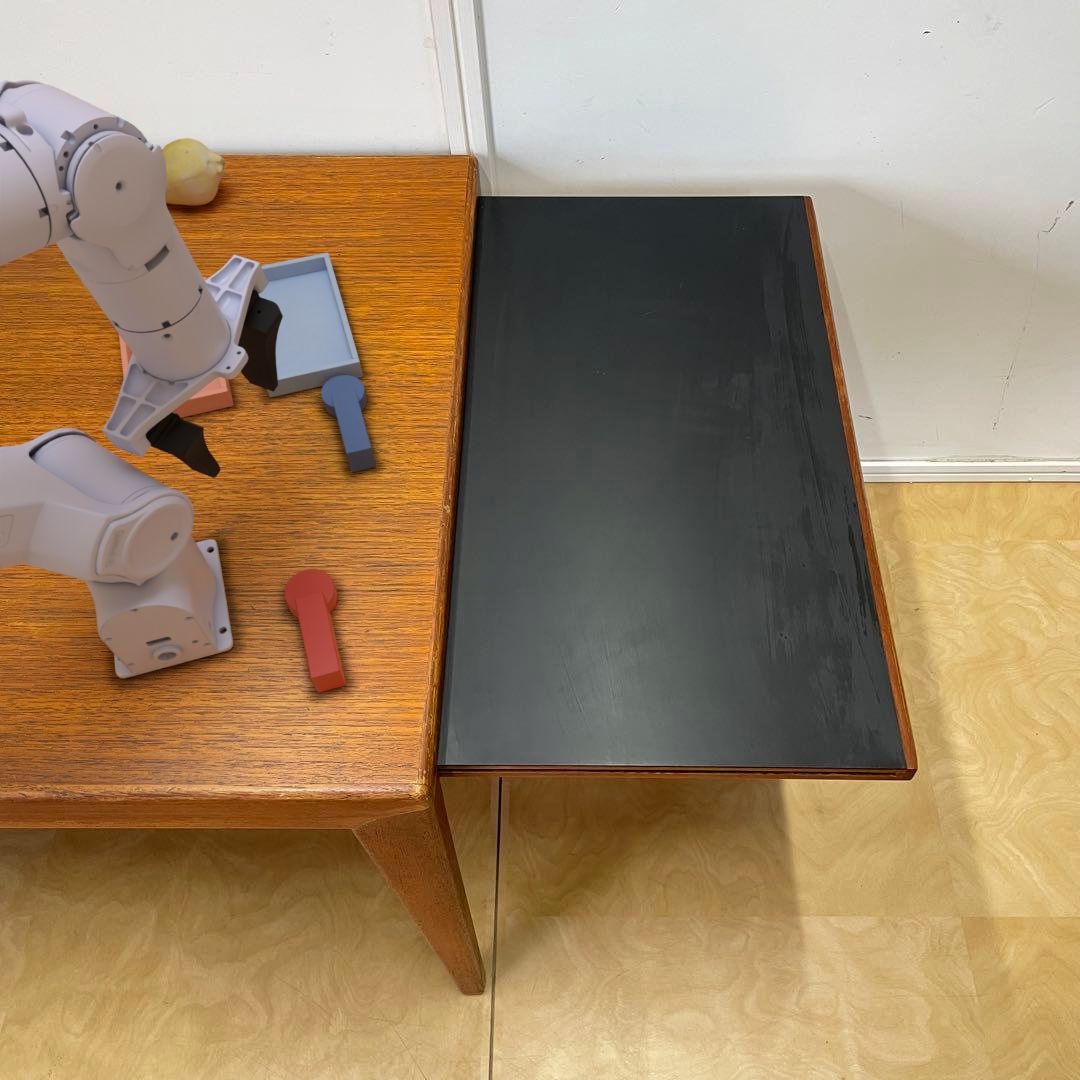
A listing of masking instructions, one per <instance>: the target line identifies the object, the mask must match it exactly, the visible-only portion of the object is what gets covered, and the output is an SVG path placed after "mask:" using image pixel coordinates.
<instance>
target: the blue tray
mask: <svg viewBox="0 0 1080 1080" xmlns="http://www.w3.org/2000/svg"><path fill="white" fill-rule="evenodd" d="M261 267H262V269H263V272H264V274H265V276H266V278H267V280H268V285H267V286H266V288H265V289H264V290H263V292H261V293H259V296H260V297H261V298H264V299H267V300H270V301H273V302H275V303H276V304H277V305H278V307H279V309H280V311H281V313H282V315H283V318H282V321H281V323H280V326H279V330H278V335H277V341H276V367H277V377H278V386H277V388H276V389H275V391H274V392H273V391H270V390H267V389H266V392H267V394H268V397H269V398H275V397H279V396H284V395H288V394H293V393H299V392H302V391H306V390H310V389H315V388H320V387H323V385H324V384H325V383H326V382H327V381H328V380H330V379H331V378H333V377H336V376H340V375H350V376H354V377H356V378H358V379H359V378H360V379H361V378H363V377H364V375H363V370H362V365H361V362H360V361H361V360H360V357H359V354H358V351H357V346H356V343H355V340H354V337H353V333H352V329H351V326H350V323H349V319H348V316H347V313H346V312H347V311H346V308H345V304H344V302H343V299H342V295H341V292H340V288H339V285H338V281H337V278H336V274H335V270H334V268H333V264H332V260H331V257H330V253H329V252H323V253H318V254H314V255H308V256H304V257H299V258H293V259H288V260H284V261H278V262H273V263H269V264H268V263H267V264H264V265H261Z"/></svg>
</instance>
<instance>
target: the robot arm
mask: <svg viewBox="0 0 1080 1080" xmlns="http://www.w3.org/2000/svg"><path fill="white" fill-rule="evenodd" d="M162 150H163V148H162V147H161V146H160V144H156V145H154V144H153V143H152V142H149V141H148V139H147V138H146V136H145V134H143V132H142V131H141V130H140V129H139V128H137V126H136V125H134V124H133V123H131V122H129V121H127V120H126V119H123V118H121V117H120V116H117V115H115V114H113V113H111V112H109V111H107V110H104V109H103V108H100V107H98V106H96V105H94V104H92V103H90V102H87V101H86V100H84V99H82V98H79V97H77V96H75V95H73V94H71V93H69V92H67V91H65V90H63V89H60V88H58V87H56V86H54V85H51V84H46V83H44V82H40V81H36V80H32V79H31V80H29V79H28V80H27V79H25V80H17V81H12V80H2V81H0V267H1V266H3V265H6V264H8V263H11V262H14V261H15V260H18V259H20V258H23V257H25V256H27V255H30V254H32V253H35V252H38V251H39V250H42V249H44V248H47V247H49V246H51V245H54V244H56V246H57V247H58V248H59V250H60V251H61V253H62V255H63V256H64V258H65V260H66V262H67V263H68V264H69V266H70V267H71V269H72V270H73V271H74V273H75V274H76V275H77V277H78V278H79V280H80V281H81V282H82V284H83V286H84V287H85V288H86V290H87V291H88V292H89V294H90V295H91V296H92V298H93V300H94V301H95V303H96V304H97V305H98V306H99V308H100V309H101V311H102V312H103V314H104V315H105V317H106V318H107V319H108V321H109V322H110V324H111V326H113V328H114V329H115V331H116V332H117V333H118V336H119V335H120V336H121V338H122V339H123V340H124V342H125V343H126V345H127V346H128V347H129V349H130V350H131V352H132V355H131V359H130V362H129V365H128V368H127V371H126V374H125V377H124V378H123V380H122V383H121V386H120V389H119V393H118V396H117V398H116V402H115V404H114V407H113V410H112V412H111V414H110V416H109V417H108V419H107V421H106V422H105V424H104V425H103V427H102V428H101V432H102V433H103V434H104V435H105V437H106V438H107V439H108V441H110V442H111V444H112V445H113V446H114V447H115V448H116V449H119V450H121V451H124V452H126V453H128V454H131V455H134V456H136V457H139V458H143V457H144V456H145V455H146V454H147V453H148V451H149V450H150V448H154V449H157V450H159V451H161V452H164V453H167V454H169V455H172V456H173V457H175V458H176V459H178V460H180V461H181V462H182V463H183V464H185V465H186V466H187V467H188V468H190V469H191V470H193V471H195V472H197V473H200V474H202V475H204V476H207V477H210V478H213V479H215V478H217V476H218V475H219V473H220V472H221V467H220V464H219V462H218V460H217V459H216V458H215V456H214V455H213V453H211V451H210V449H209V447H208V446H207V445H208V444H207V442H206V439H205V433H204V432H205V427H204V426H201V425H199V424H196V423H194V422H191V421H188V420H186V419H184V418H180V416H179V415H178V414H175V413H172V412H173V411H174V410H175V409H177V408H178V407H179V406H181V405H182V404H183V403H184V402H186V401H187V400H188V399H190V398H191V397H192V396H194V395H195V394H196V393H198V392H199V391H200V390H201V389H203V388H204V387H205V386H207V385H208V384H209V383H211V382H212V381H213V380H215V379H216V378H218V377H222V378H225V379H229V380H233V379H235V378H236V377H237V376H239V375H240V374H242V375H243V377H244V378H245V379H246V380H247V382H248V383H249V384H251V385H254V386H257V387H259V388H262V389H265V390H266V391H267V390H270V391H273V392H274V391H275V389H276V388H277V386H278V377H277V367H276V341H277V335H278V330H279V326H280V323H281V321H282V318H283V315H282V313H281V311H280V309H279V307H278V305H277V304H276V303H275V302H273V301H270V300H267V299H264V298H261V297H260V296H259V293H261V292H263V290H264V289H265V288H266V286H267V285H268V280H267V278H266V276H265V274H264V272H263V269H262V267H261V266H262V265H261V263H260V262H258V261H257V260H253V259H250V258H246V257H243V256H241V255H237V254H233V255H232V256H231V258H230V259H229V260H228V261H227V262H226V263H225V264H224V265H223V266H222V267H221V268H219V270H217V271H215V272H214V273H213V274H212V275H211V276H209V277H207V280H204V278H203V277H204V276H203V275H202V273H201V271H200V268H199V267H198V265H197V264H196V261H195V260H194V258H193V255H192V254H191V252H190V250H189V248H188V247H187V245H186V243H185V241H184V239H183V238H182V235H181V234H180V231H179V230H178V228H177V225H175V220H174V219H173V217H172V215H171V213H170V211H169V209H168V206H167V203H166V200H165V194H166V186H167V168H166V162H165V158H164V155H163V152H162ZM194 523H195V509H194V506H193V502H192V501H191V499H190V497H189V496H188V495H186V494H185V493H183V491H180V490H179V489H177V488H173V487H169V486H167V485H166V484H164V483H163V482H161V481H159V480H158V479H156V478H155V477H153V476H152V475H150V474H148V473H146V472H145V471H143V470H141V469H140V468H138V467H137V466H135V465H133V464H132V463H130V462H129V461H127V460H125V459H123V458H122V457H121V456H119V455H117V454H115V453H114V452H112V451H111V450H109V449H107V448H106V447H104V446H103V445H101V444H100V443H97V441H96V440H95V439H94V438H92V437H91V436H90V435H88V433H86V432H84V431H83V430H80V429H77V428H74V427H73V428H72V427H61V428H56V429H52V430H49V431H46V432H45V433H42V434H41V435H39V436H37V437H36V438H34V439H32V440H29V441H27V442H24V443H21V444H15V445H3V446H0V570H2V569H6V568H10V567H16V566H19V565H24V566H28V567H34V568H37V569H41V570H45V571H48V572H51V573H55V574H59V575H63V576H66V577H69V578H73V579H77V580H81V581H83V582H84V583H85V585H86V587H87V589H88V590H89V593H90V595H91V597H92V601H93V604H94V609H95V610H94V611H95V616H96V617H95V618H96V627H97V633H98V636H99V638H100V640H101V641H102V642H103V643H104V645H106V647H107V648H108V649H109V650H110V651H111V652H112V653H113V658H114V659H113V660H114V669H115V675H116V676H117V677H118V678H119V679H128V678H131V677H135V676H138V675H143V674H147V673H151V672H154V671H158V670H161V669H164V668H170V667H172V666H176V665H179V664H183V663H186V662H191V661H194V660H198V659H202V658H205V657H210V656H213V655H216V654H220V653H224V652H228V651H231V649H233V646H234V639H233V631H232V627H231V620H230V613H229V608H228V601H227V600H228V599H227V594H226V589H225V588H226V587H225V581H224V576H223V570H222V569H223V568H222V563H221V557H220V551H219V544H218V543H217V541H216V540H215V539H213V538H209V539H204V540H201V541H196V540H195V538H194V537H193V535H192V533H193V528H194ZM212 550H213V551H212ZM210 551H211V552H210ZM224 630H226V631H225V632H223V633H222V631H224Z"/></svg>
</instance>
